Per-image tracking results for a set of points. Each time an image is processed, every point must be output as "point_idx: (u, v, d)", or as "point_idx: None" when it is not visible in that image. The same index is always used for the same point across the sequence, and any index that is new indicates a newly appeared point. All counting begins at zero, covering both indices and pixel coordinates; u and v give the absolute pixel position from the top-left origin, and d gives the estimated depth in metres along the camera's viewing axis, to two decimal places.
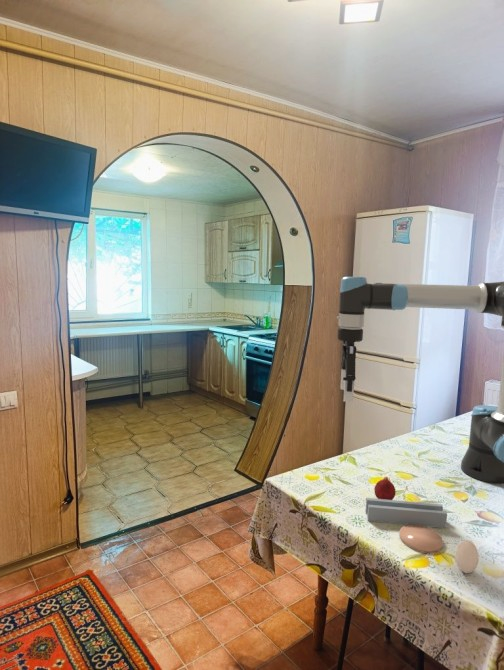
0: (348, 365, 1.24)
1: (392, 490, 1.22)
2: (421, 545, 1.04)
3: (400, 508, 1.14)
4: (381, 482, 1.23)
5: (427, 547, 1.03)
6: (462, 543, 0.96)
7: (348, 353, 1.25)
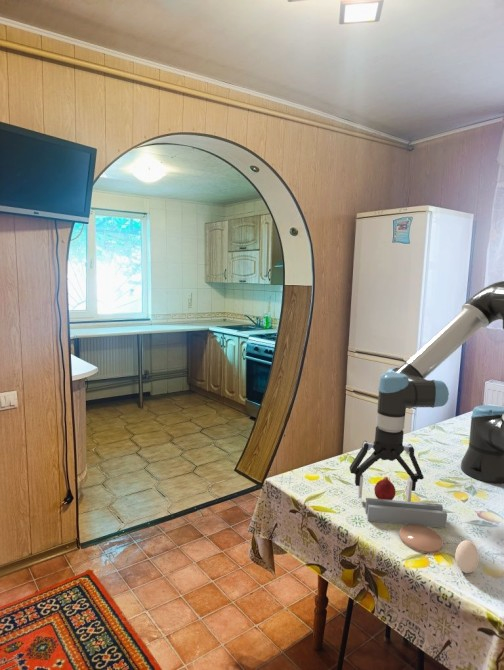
0: (356, 457, 1.24)
1: (392, 490, 1.22)
2: (421, 545, 1.04)
3: (400, 508, 1.14)
4: (381, 482, 1.23)
5: (427, 547, 1.03)
6: (462, 543, 0.96)
7: (362, 447, 1.24)
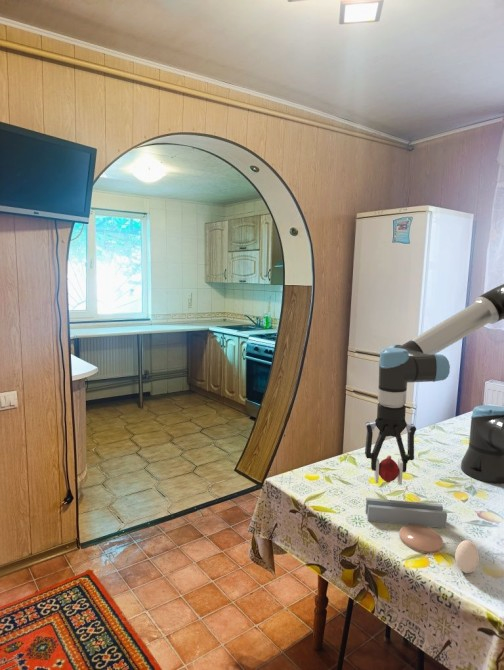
0: (366, 441, 1.24)
1: (396, 469, 1.21)
2: (421, 545, 1.04)
3: (400, 508, 1.14)
4: (384, 461, 1.22)
5: (427, 547, 1.03)
6: (462, 543, 0.96)
7: (367, 429, 1.23)
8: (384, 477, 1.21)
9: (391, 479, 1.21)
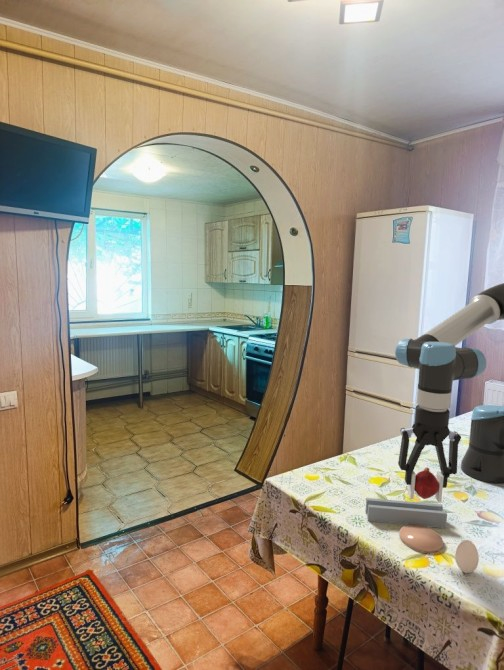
0: (400, 450, 1.06)
1: (435, 483, 1.03)
2: (421, 545, 1.04)
3: (400, 508, 1.14)
4: (422, 474, 1.04)
5: (427, 547, 1.03)
6: (462, 543, 0.96)
7: (402, 436, 1.05)
8: (421, 493, 1.04)
9: (429, 495, 1.03)
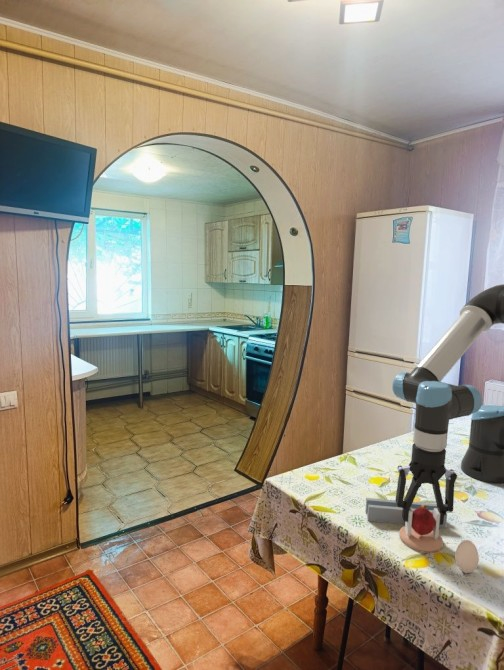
0: (397, 487, 1.07)
1: (432, 521, 1.05)
2: (421, 545, 1.04)
3: (400, 508, 1.14)
4: (419, 511, 1.06)
5: (427, 547, 1.03)
6: (462, 543, 0.96)
7: (399, 474, 1.07)
8: (418, 530, 1.05)
9: (426, 533, 1.05)
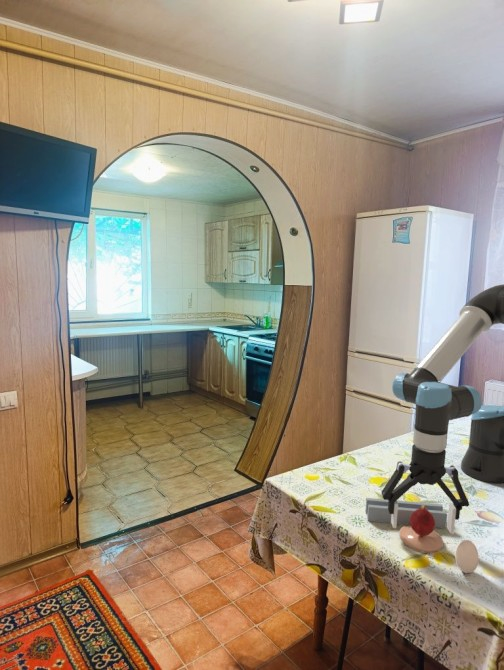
0: (389, 480, 1.07)
1: (432, 522, 1.05)
2: (421, 545, 1.04)
3: (400, 508, 1.14)
4: (419, 512, 1.06)
5: (427, 547, 1.03)
6: (462, 543, 0.96)
7: (396, 469, 1.07)
8: (418, 531, 1.05)
9: (426, 534, 1.05)
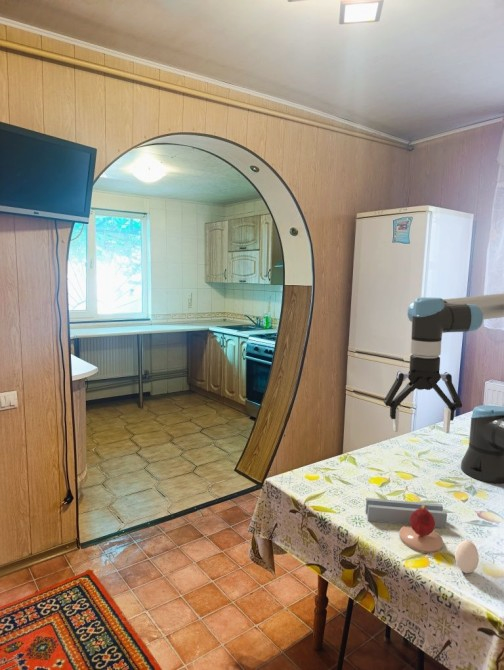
0: (390, 389, 1.19)
1: (432, 522, 1.05)
2: (421, 545, 1.04)
3: (400, 508, 1.14)
4: (419, 512, 1.06)
5: (427, 547, 1.03)
6: (462, 543, 0.96)
7: (396, 378, 1.18)
8: (418, 531, 1.05)
9: (426, 534, 1.05)
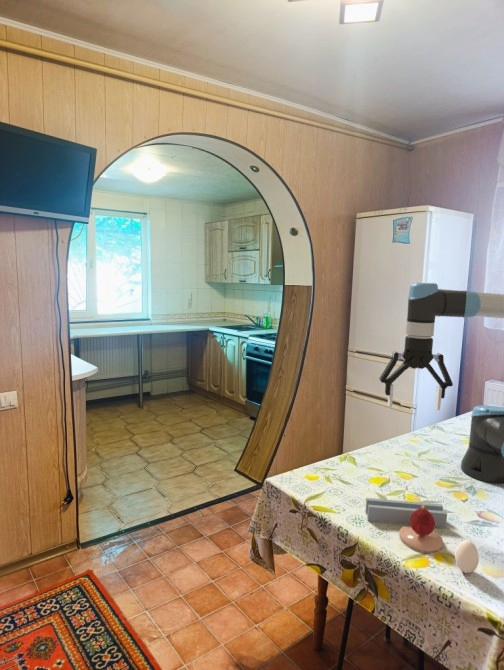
0: (386, 367, 1.28)
1: (432, 522, 1.05)
2: (421, 545, 1.04)
3: (400, 508, 1.14)
4: (419, 513, 1.06)
5: (427, 547, 1.03)
6: (462, 543, 0.96)
7: (392, 357, 1.27)
8: (418, 531, 1.05)
9: (426, 534, 1.05)
